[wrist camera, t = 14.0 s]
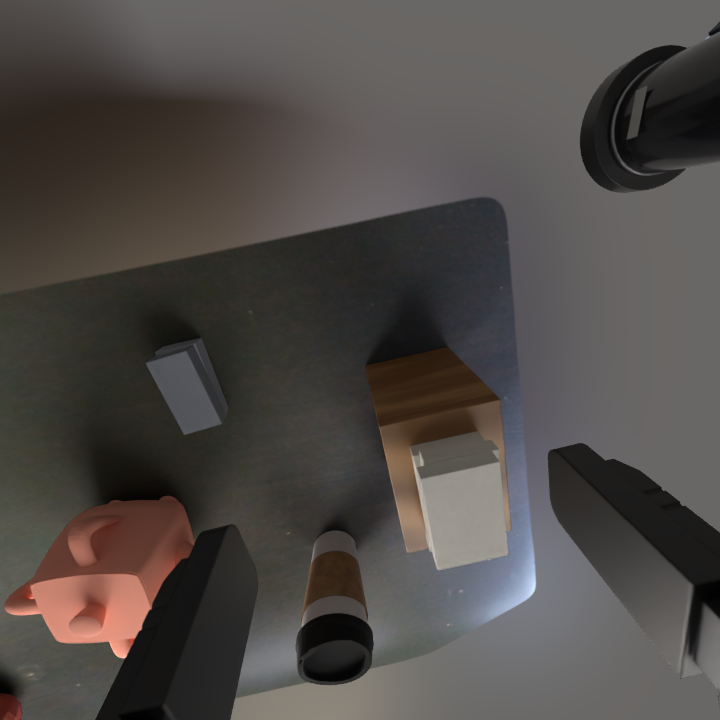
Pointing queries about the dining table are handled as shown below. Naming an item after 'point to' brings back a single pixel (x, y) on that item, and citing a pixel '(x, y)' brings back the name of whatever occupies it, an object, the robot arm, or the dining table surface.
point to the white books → (447, 456)
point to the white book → (464, 509)
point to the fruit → (10, 707)
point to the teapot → (107, 571)
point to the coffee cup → (334, 615)
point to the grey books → (189, 385)
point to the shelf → (429, 422)
